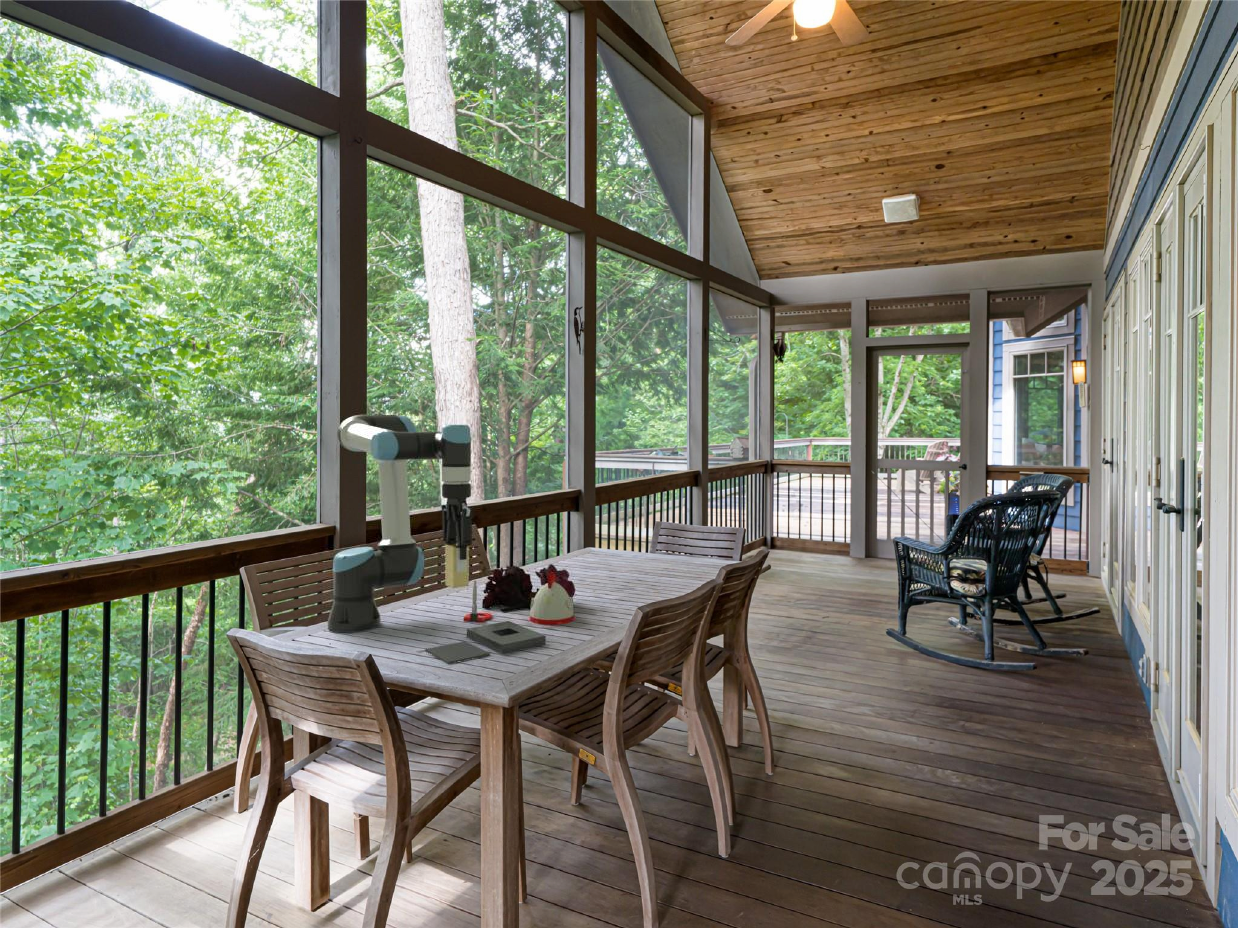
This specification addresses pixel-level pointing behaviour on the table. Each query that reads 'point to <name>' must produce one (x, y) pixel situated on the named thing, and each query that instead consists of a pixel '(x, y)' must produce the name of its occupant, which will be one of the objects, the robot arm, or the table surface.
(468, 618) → the tow hook
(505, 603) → the flower arrangement
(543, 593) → the kitchen timer
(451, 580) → the brass plug
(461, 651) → the rubber mat
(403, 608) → the table surface
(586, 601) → the table surface
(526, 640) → the socket plate
